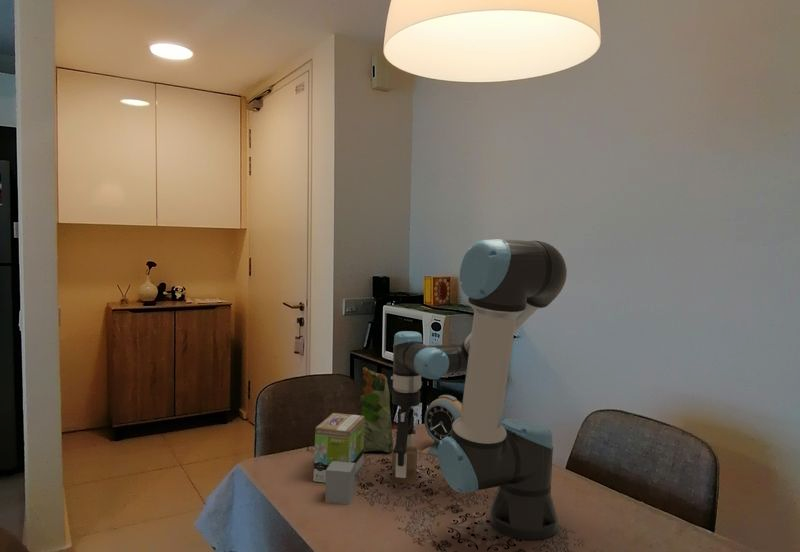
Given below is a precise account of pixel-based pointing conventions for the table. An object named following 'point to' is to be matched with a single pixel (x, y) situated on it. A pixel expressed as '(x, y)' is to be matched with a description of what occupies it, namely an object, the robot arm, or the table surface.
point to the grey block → (340, 482)
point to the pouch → (376, 412)
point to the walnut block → (410, 466)
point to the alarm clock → (441, 420)
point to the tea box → (338, 443)
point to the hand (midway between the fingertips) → (404, 467)
